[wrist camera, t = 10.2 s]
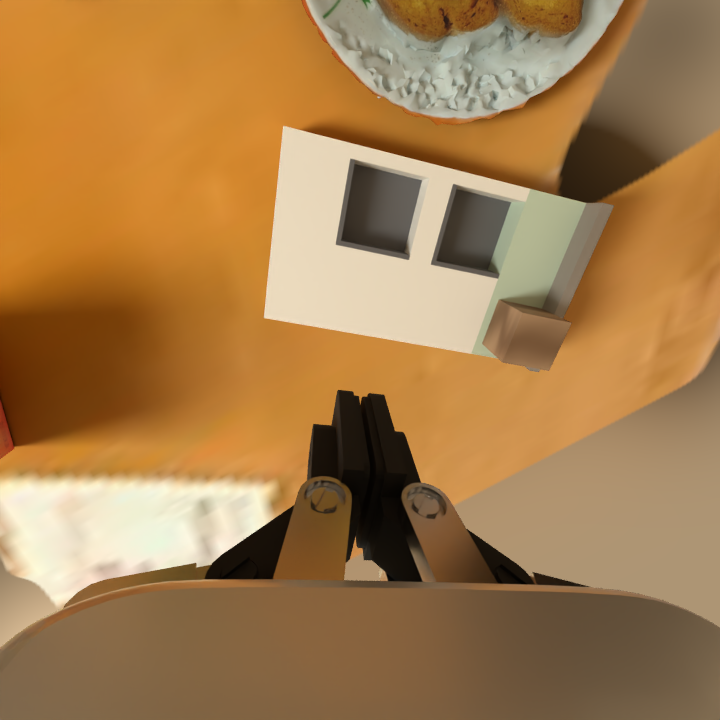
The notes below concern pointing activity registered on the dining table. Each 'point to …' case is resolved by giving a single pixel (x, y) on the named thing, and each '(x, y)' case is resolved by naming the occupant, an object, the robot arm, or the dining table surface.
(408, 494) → the robot arm
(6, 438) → the cracker box
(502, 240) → the box
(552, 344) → the walnut block
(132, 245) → the dining table surface
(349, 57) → the food on plate
